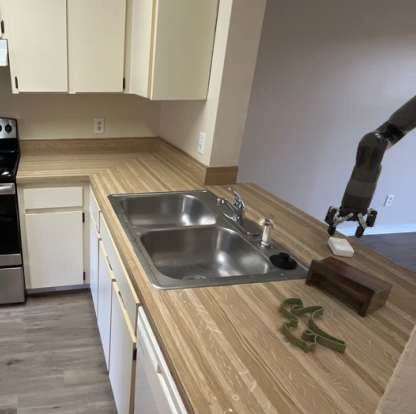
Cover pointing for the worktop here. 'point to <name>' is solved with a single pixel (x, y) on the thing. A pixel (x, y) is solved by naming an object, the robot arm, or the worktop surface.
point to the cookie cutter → (307, 335)
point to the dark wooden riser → (351, 281)
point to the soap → (340, 247)
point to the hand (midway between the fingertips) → (343, 236)
